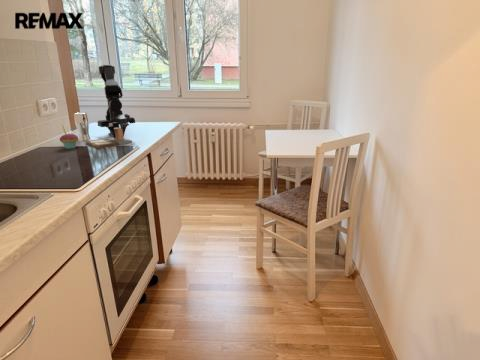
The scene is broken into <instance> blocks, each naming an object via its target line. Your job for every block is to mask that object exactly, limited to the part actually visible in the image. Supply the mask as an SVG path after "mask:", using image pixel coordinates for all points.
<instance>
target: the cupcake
mask: <svg viewBox="0 0 480 360" xmlns="http://www.w3.org/2000/svg"><path fill="white" fill-rule="evenodd" d="M61 127H62V130H63V133H64V134H63V135H61V136H60V138H59V142H60V143H62V144H63V146H64V148H65V149H66V150H67V149H69V150H71V149H74V148H76V147H77V142H78V141H79V135H76V134H75V133H67V132H66V130H65V126H63V124H61Z"/></svg>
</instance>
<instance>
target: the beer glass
mask: <svg viewBox="0 0 480 360" xmlns="http://www.w3.org/2000/svg"><path fill="white" fill-rule="evenodd" d="M88 117H89V116H88V113H87V112H74V113H73V119H74V124H75V128H76V130H77V132H78V139H79V140H78V141H80V142H86V141H91V135H90V132H89V129H90V127H89V118H88Z"/></svg>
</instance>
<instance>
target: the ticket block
mask: <svg viewBox="0 0 480 360" xmlns="http://www.w3.org/2000/svg"><path fill="white" fill-rule="evenodd" d="M85 145H87V146H89V147H91V148H94V149H96V150H101V149H100V148H103V149H106V148H105V147H108V148H115V147H119V143H117V142H115V141H112V140H109V139H107V138H99V139H92V140H87V141H85Z"/></svg>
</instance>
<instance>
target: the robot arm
mask: <svg viewBox="0 0 480 360" xmlns="http://www.w3.org/2000/svg"><path fill="white" fill-rule="evenodd" d="M98 73H99V75H100V77H101V79H102V81H103V82H104V88H103V89H104V94H105V98H106V101H107V110H106V114H105V119H101V120H97V126H98V127H100V128H107V129H108V130H109V132H108V135H110V136H112V137H114V138H115V132H114V128H121V129H122V131H123V138H125V134H126V130H127V127H128V126H130V124H135V123H136V120H135V117H133V116H132V117H131V116H130V114H129V113H124V114H123V111H122V107H123V103H122V101H121V100H120V99H122V98H123V96H124V95H123V90H122V88H121V86H120V85H119V83H118V81H116V80H115V74H116V69H115V66H113V65H112V64H102V65H100V66H98Z"/></svg>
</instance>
